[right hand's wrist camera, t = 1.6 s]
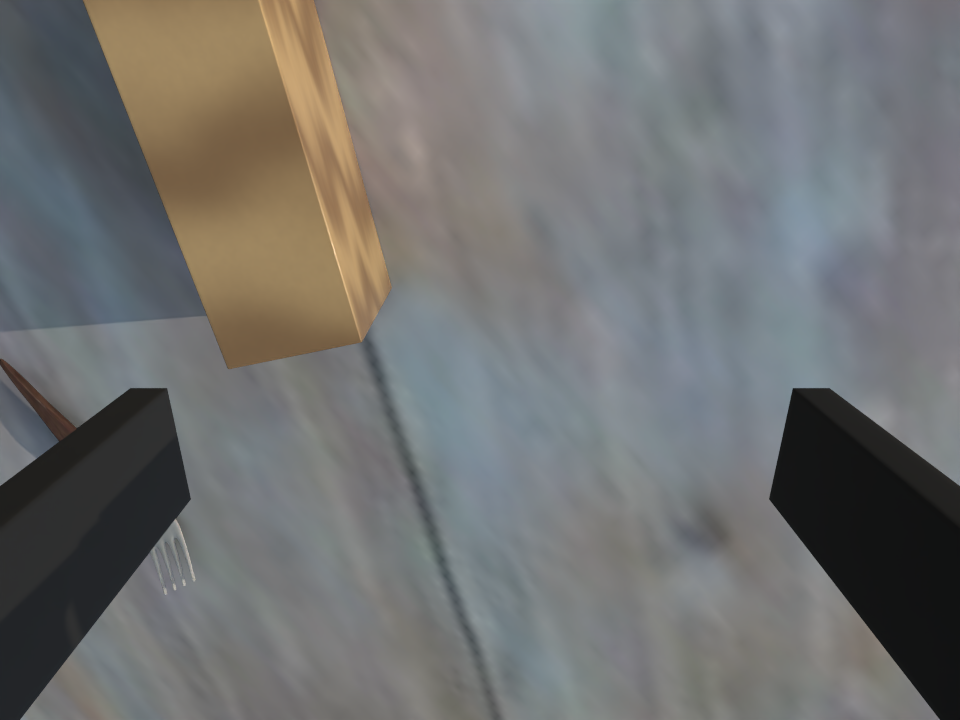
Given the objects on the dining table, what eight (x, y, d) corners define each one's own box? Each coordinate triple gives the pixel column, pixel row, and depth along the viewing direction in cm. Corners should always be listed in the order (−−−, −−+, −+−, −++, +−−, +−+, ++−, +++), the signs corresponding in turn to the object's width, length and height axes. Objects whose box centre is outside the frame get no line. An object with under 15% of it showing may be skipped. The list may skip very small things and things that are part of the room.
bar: (392, 288, 31) (362, 342, 23) (290, 309, 31) (227, 369, 23) (222, -340, 22) (79, -600, 14) (84, -299, 22) (-128, -531, 15)
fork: (25, 344, 31) (-4, 358, 30) (211, 557, 37) (197, 580, 35) (-11, 366, 32) (-42, 381, 30) (178, 573, 37) (162, 597, 35)
